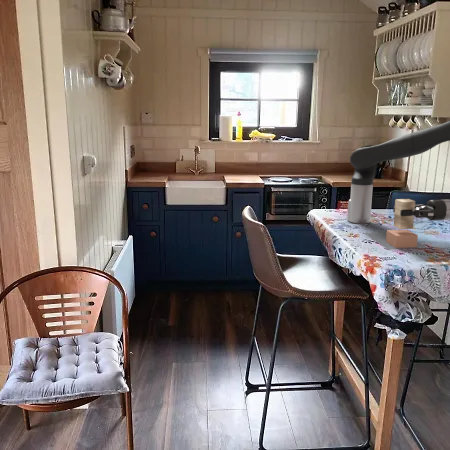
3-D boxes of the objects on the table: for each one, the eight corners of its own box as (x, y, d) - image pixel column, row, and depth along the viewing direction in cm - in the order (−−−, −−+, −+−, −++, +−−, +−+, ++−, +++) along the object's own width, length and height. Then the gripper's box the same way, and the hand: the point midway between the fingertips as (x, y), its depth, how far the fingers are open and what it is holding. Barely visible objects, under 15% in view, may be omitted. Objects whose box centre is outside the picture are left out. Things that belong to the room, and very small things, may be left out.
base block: (395, 247, 165) (396, 235, 164) (385, 241, 173) (386, 230, 172) (416, 247, 166) (417, 235, 165) (406, 241, 174) (407, 229, 173)
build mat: (387, 251, 164) (387, 249, 164) (363, 234, 186) (363, 232, 186) (427, 249, 165) (428, 248, 165) (398, 233, 187) (398, 231, 187)
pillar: (399, 229, 165) (401, 201, 163) (393, 225, 170) (395, 199, 168) (413, 228, 166) (415, 201, 163) (406, 225, 171) (408, 198, 168)
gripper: (432, 196, 174) (389, 197, 172) (454, 203, 160) (407, 205, 158) (430, 215, 176) (387, 217, 174) (452, 224, 162) (405, 226, 160)
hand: (397, 211), depth 166 cm, fingers closed on pillar, 5 cm apart
